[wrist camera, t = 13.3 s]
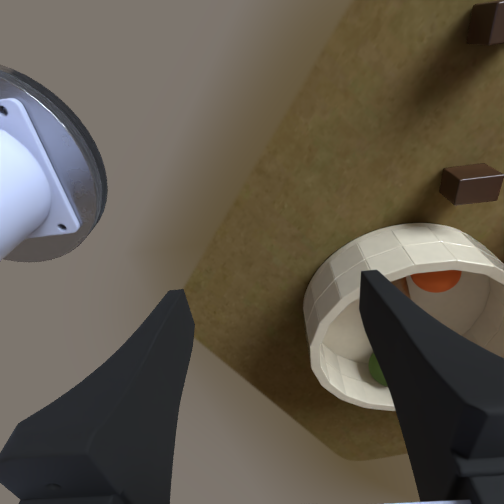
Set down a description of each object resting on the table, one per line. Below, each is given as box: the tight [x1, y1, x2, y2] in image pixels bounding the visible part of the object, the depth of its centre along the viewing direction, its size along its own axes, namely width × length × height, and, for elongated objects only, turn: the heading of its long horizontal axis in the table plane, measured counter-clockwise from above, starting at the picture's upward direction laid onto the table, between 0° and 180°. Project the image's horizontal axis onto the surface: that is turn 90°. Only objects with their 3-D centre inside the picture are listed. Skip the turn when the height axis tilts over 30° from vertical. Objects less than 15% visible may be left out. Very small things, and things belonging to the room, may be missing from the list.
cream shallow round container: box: [303, 223, 504, 411], centre depth 24 cm, size 14×14×4 cm
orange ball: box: [410, 270, 462, 293], centre depth 22 cm, size 3×3×3 cm
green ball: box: [368, 353, 388, 386], centre depth 27 cm, size 3×3×3 cm
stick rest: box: [439, 0, 504, 205], centre depth 18 cm, size 10×2×2 cm, turn 8°
